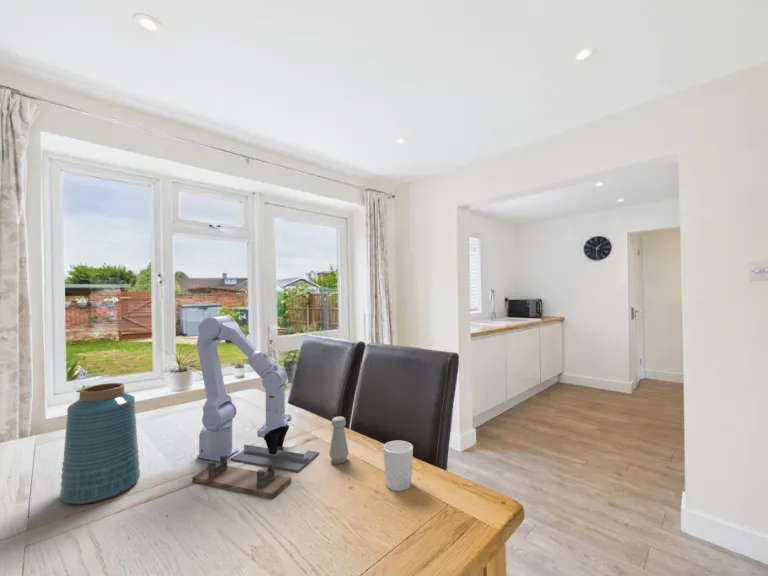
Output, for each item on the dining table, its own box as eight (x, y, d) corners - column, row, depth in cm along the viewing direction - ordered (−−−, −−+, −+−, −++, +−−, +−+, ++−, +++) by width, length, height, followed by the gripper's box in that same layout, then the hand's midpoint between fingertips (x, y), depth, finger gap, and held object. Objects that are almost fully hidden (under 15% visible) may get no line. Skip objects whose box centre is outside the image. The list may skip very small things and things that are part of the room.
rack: (192, 481, 95) (192, 462, 95) (215, 467, 103) (215, 450, 103) (272, 498, 87) (272, 478, 87) (290, 482, 94) (290, 463, 94)
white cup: (416, 479, 95) (416, 442, 95) (409, 495, 88) (408, 455, 88) (389, 474, 98) (388, 438, 98) (379, 489, 90) (379, 450, 90)
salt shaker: (345, 466, 103) (344, 421, 103) (326, 464, 104) (326, 420, 104) (350, 457, 108) (350, 415, 109) (333, 455, 110) (333, 413, 110)
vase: (48, 515, 81) (49, 399, 81) (72, 481, 95) (72, 384, 96) (134, 495, 88) (134, 390, 89) (144, 467, 103) (144, 377, 103)
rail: (244, 452, 111) (244, 444, 111) (249, 448, 113) (249, 441, 113) (304, 462, 104) (303, 454, 104) (308, 458, 106) (308, 450, 106)
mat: (230, 460, 107) (230, 458, 107) (256, 444, 118) (256, 442, 118) (298, 472, 99) (298, 470, 99) (319, 454, 111) (319, 452, 111)
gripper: (271, 417, 101) (271, 464, 101) (299, 402, 115) (299, 443, 114) (251, 414, 103) (251, 460, 103) (280, 400, 117) (281, 440, 117)
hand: (275, 451), depth 109 cm, fingers closed on rail, 2 cm apart
